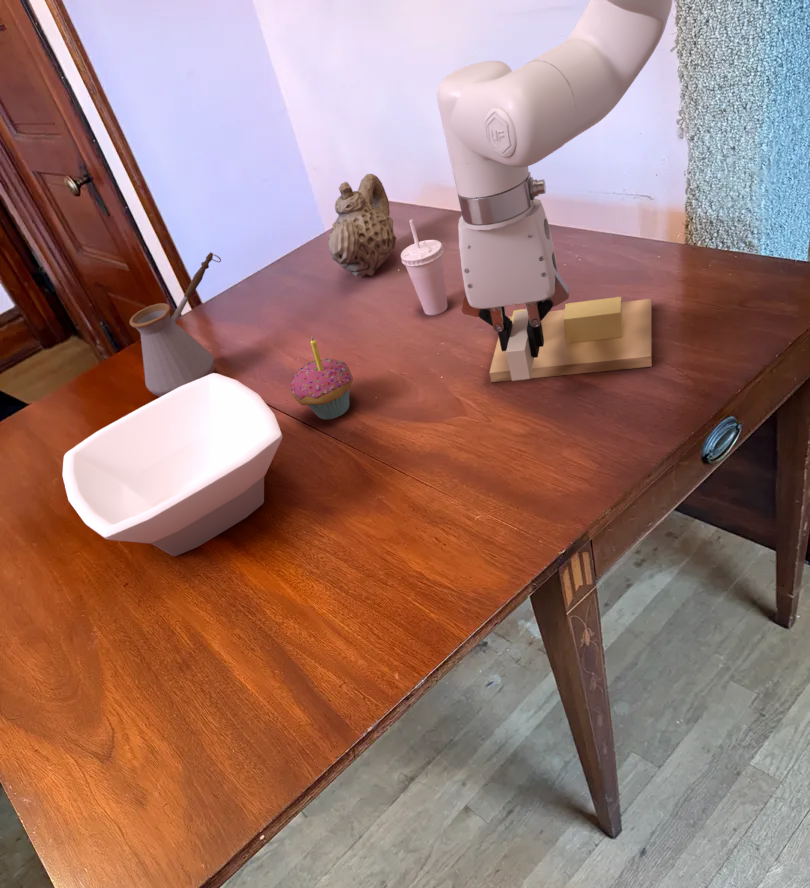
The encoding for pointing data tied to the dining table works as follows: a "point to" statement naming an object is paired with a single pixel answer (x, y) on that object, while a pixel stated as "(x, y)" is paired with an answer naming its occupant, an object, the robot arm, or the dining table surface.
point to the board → (587, 347)
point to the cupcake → (323, 386)
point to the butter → (593, 320)
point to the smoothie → (426, 272)
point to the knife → (519, 348)
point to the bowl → (176, 466)
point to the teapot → (362, 227)
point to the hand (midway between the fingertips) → (523, 351)
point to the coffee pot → (171, 344)
